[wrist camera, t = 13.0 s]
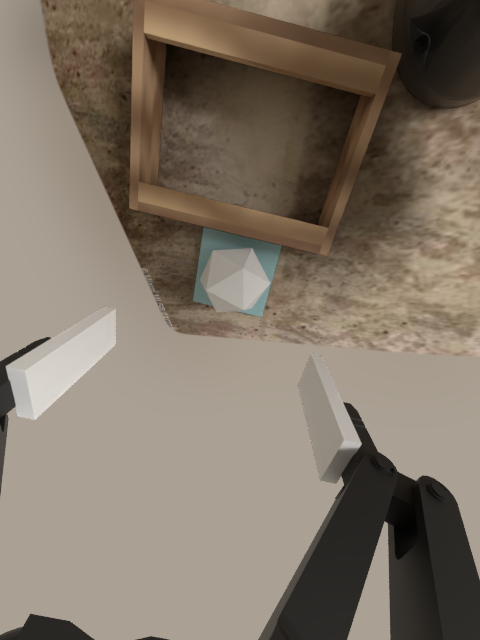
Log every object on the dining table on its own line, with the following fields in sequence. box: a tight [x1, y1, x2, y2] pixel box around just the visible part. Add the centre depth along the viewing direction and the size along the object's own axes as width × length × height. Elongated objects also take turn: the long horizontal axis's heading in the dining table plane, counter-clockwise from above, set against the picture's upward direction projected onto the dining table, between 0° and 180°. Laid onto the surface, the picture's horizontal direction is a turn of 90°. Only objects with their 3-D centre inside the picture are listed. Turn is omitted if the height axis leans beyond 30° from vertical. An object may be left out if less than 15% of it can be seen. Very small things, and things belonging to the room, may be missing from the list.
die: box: [200, 248, 270, 313], centre depth 31 cm, size 8×9×10 cm
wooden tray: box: [129, 0, 402, 256], centre depth 27 cm, size 18×24×6 cm
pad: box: [193, 227, 282, 317], centre depth 35 cm, size 11×11×1 cm
